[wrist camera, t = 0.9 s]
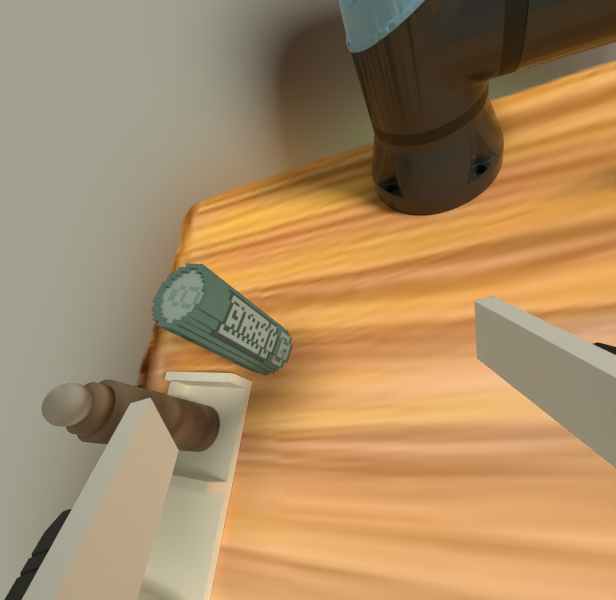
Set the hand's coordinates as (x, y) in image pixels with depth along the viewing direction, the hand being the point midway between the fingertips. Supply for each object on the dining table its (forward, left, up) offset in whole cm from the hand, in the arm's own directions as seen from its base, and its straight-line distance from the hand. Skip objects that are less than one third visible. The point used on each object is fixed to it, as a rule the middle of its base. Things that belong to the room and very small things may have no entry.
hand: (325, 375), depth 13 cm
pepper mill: (+2, -23, -19) cm, 30 cm away
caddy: (+7, -23, -20) cm, 31 cm away
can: (-8, -16, -21) cm, 28 cm away
